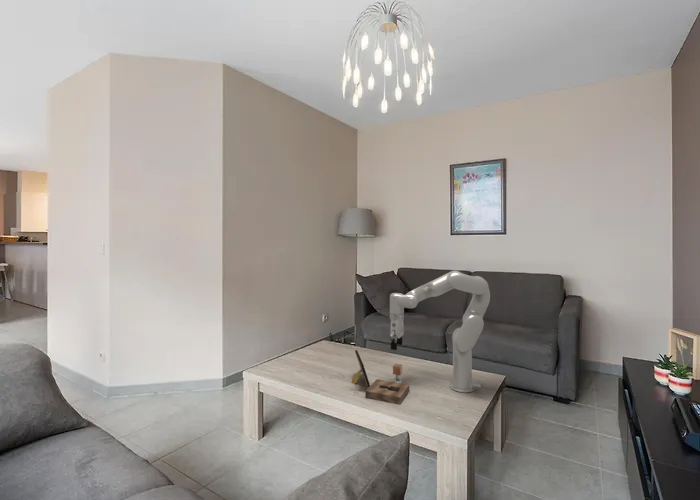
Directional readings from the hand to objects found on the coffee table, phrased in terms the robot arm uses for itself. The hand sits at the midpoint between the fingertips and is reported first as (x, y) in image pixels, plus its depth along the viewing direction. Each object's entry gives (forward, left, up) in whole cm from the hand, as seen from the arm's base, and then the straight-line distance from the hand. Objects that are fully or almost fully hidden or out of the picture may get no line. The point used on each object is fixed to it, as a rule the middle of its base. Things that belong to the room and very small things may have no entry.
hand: (396, 347), depth 192 cm
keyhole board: (0, +15, -20) cm, 25 cm away
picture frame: (+19, +7, -20) cm, 29 cm away
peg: (0, 0, -20) cm, 20 cm away
